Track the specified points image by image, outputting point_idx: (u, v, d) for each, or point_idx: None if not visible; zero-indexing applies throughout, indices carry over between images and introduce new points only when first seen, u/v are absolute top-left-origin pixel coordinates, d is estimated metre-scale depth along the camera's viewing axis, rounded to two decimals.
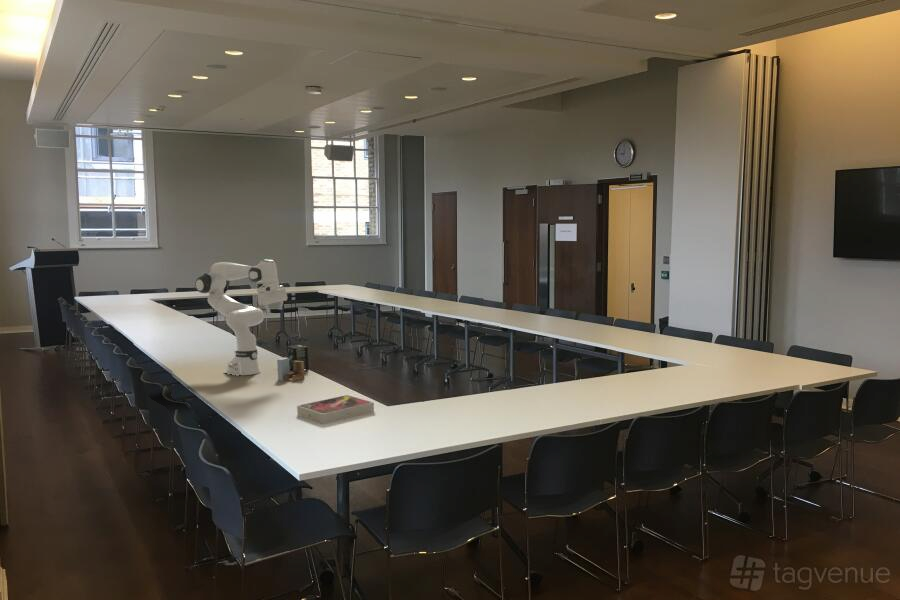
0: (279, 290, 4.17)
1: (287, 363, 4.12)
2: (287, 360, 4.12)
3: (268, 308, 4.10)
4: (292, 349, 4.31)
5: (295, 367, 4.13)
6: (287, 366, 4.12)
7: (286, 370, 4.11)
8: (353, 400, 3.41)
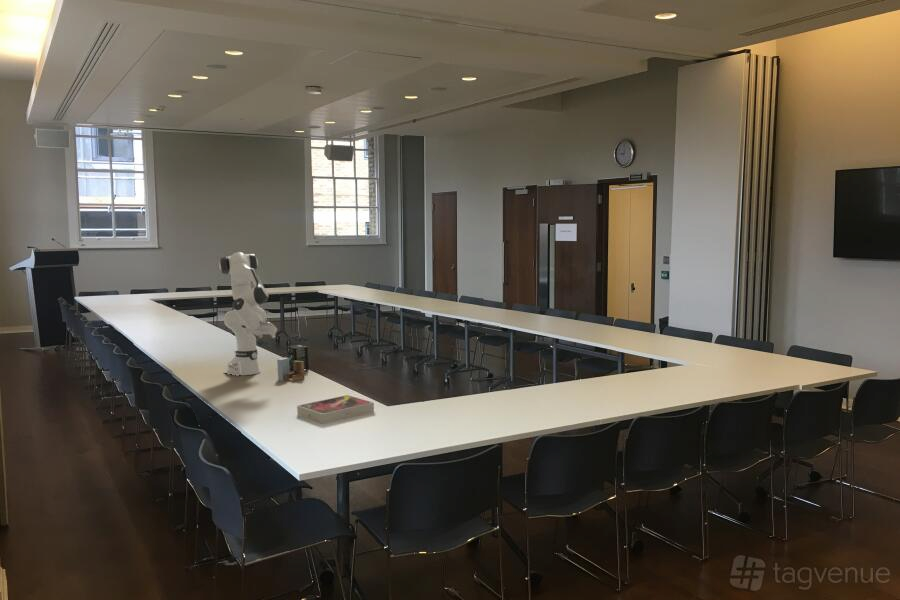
0: (261, 327, 3.88)
1: (287, 363, 4.12)
2: (287, 360, 4.12)
3: (257, 335, 3.99)
4: (292, 349, 4.31)
5: (295, 367, 4.13)
6: (287, 366, 4.12)
7: (286, 370, 4.11)
8: (353, 400, 3.41)
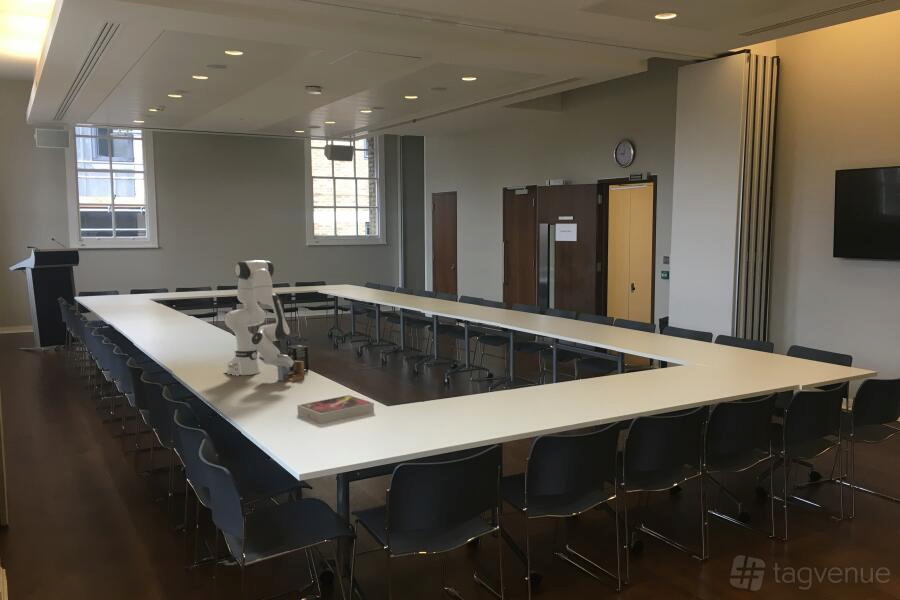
0: (278, 360, 4.02)
1: None
2: None
3: (277, 366, 4.12)
4: (292, 349, 4.31)
5: (295, 367, 4.13)
6: None
7: (286, 370, 4.11)
8: (354, 400, 3.41)
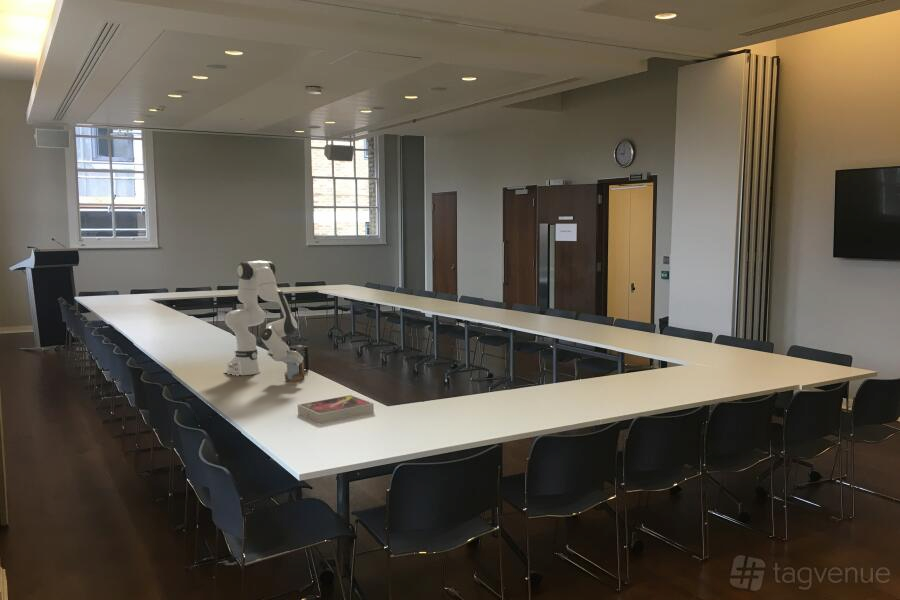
0: (288, 356, 3.98)
1: None
2: None
3: None
4: (292, 349, 4.31)
5: None
6: None
7: (295, 369, 4.08)
8: (354, 400, 3.41)
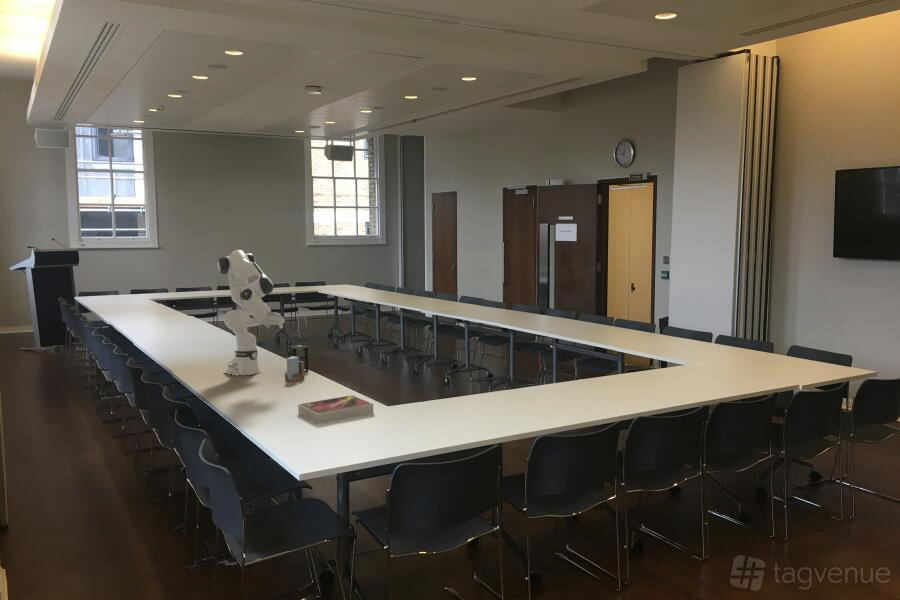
0: (269, 318, 3.91)
1: (297, 362, 4.09)
2: (296, 359, 4.09)
3: (265, 325, 4.02)
4: (292, 349, 4.31)
5: None
6: (296, 365, 4.09)
7: (295, 369, 4.08)
8: (354, 401, 3.40)
